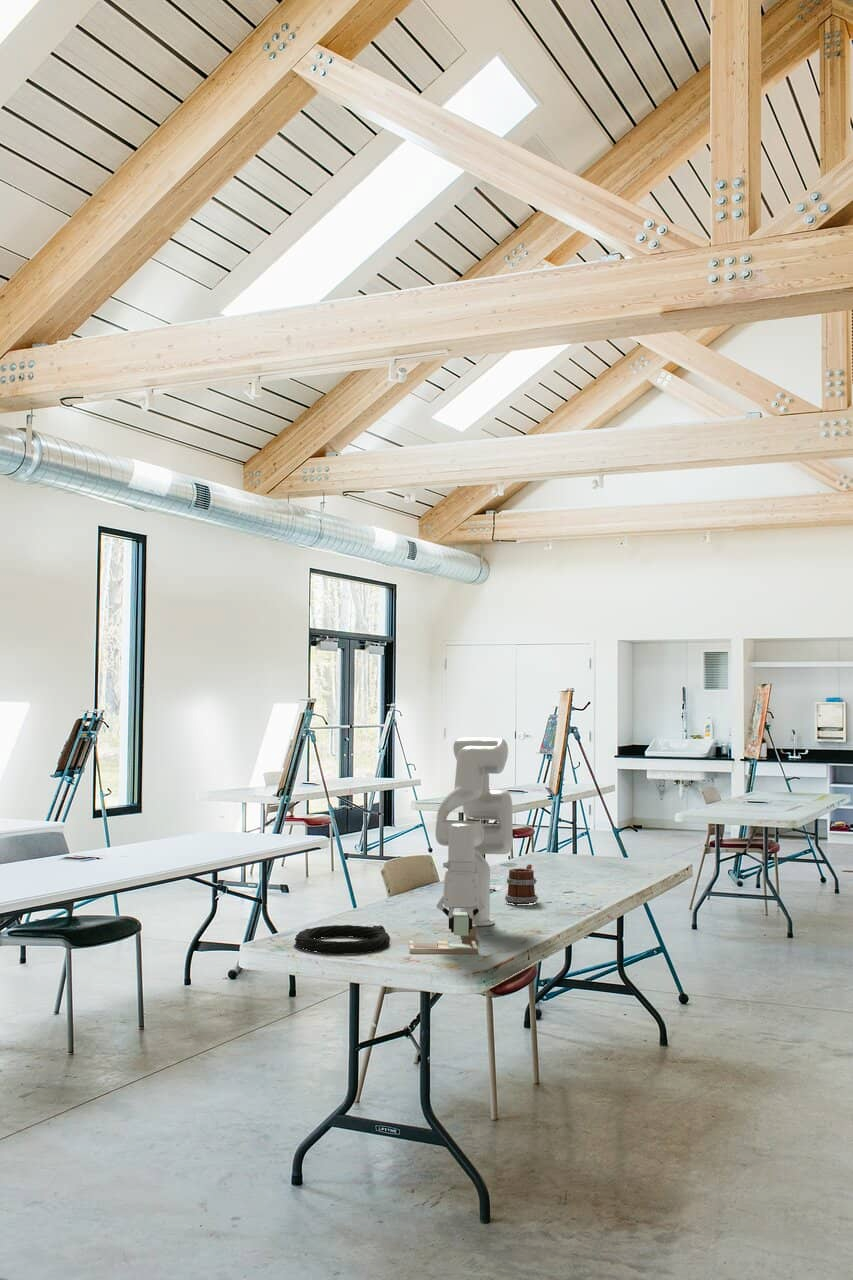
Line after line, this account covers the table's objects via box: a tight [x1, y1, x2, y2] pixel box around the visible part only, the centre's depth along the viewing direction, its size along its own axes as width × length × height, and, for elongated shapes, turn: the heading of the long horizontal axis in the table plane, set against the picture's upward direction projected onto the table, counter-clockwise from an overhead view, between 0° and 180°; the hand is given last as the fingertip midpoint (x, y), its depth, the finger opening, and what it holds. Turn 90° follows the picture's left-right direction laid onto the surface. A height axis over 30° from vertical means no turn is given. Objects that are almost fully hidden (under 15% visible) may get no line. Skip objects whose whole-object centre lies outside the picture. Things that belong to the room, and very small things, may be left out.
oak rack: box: [408, 938, 479, 954], centre depth 315 cm, size 13×19×1 cm
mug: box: [504, 864, 539, 904], centre depth 396 cm, size 12×14×15 cm
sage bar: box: [453, 911, 469, 937], centre depth 316 cm, size 9×4×5 cm, turn 2°
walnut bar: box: [459, 921, 477, 944], centre depth 328 cm, size 9×4×5 cm, turn 2°
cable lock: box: [294, 924, 391, 955], centre depth 320 cm, size 28×4×30 cm
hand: (460, 931), depth 316 cm, fingers closed on sage bar, 4 cm apart
